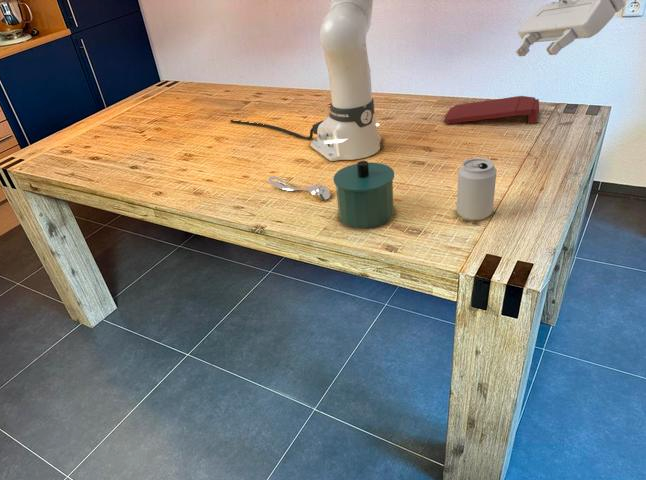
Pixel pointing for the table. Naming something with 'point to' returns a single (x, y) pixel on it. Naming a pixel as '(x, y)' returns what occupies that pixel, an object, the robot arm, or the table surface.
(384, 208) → the pot
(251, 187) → the table surface
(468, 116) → the dark red sloped ramp
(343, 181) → the pot lid
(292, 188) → the silver spoon
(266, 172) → the table surface
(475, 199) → the can
